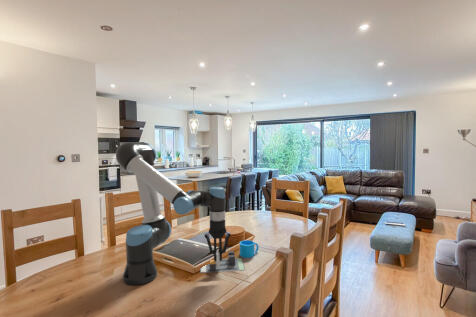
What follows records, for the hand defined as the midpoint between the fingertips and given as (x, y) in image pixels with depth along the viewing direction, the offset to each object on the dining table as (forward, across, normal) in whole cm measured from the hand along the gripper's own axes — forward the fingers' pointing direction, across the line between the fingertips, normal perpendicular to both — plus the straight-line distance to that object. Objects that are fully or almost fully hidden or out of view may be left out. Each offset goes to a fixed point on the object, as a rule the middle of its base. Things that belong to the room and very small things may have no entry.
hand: (218, 266), depth 129 cm
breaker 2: (+2, +7, +5) cm, 9 cm away
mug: (+3, +18, +17) cm, 25 cm away
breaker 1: (+2, +7, +10) cm, 12 cm away
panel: (+3, +2, +5) cm, 6 cm away
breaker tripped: (+2, -2, 0) cm, 3 cm away
